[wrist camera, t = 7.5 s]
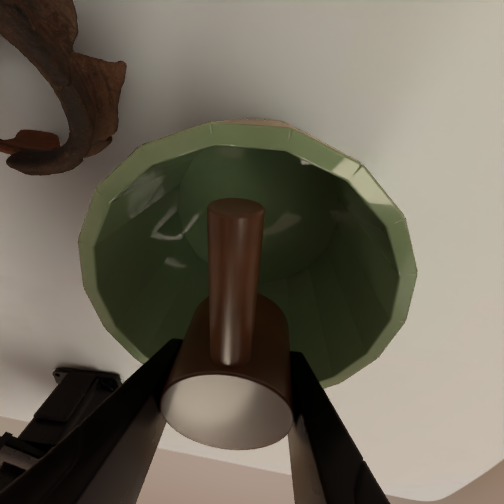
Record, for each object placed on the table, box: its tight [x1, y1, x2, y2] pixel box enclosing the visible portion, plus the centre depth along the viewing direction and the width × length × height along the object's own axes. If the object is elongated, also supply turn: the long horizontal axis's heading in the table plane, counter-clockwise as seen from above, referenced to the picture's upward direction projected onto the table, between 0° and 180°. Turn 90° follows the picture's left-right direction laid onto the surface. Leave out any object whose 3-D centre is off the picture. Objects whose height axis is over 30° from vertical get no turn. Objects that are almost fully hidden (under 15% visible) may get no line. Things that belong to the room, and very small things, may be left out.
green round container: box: [78, 118, 417, 389], centre depth 12 cm, size 10×10×8 cm
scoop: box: [160, 198, 294, 450], centre depth 7 cm, size 8×4×3 cm, turn 176°
